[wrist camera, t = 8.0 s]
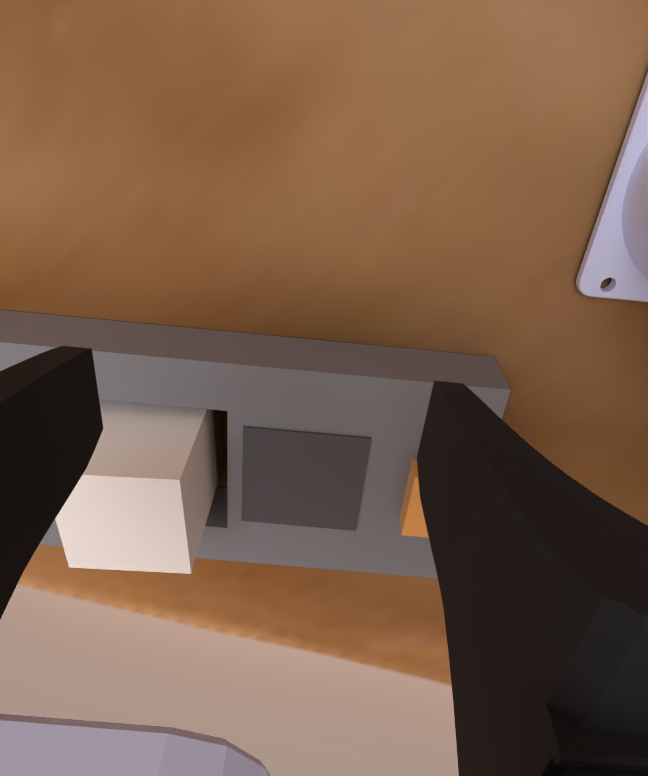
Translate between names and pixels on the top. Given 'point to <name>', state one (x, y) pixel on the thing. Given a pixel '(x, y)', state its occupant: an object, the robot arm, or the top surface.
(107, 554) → the plug
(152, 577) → the top surface
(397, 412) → the grey slotted holder
